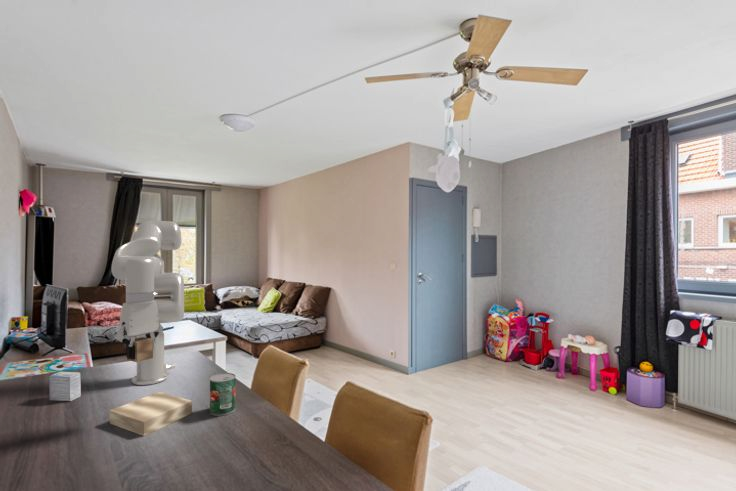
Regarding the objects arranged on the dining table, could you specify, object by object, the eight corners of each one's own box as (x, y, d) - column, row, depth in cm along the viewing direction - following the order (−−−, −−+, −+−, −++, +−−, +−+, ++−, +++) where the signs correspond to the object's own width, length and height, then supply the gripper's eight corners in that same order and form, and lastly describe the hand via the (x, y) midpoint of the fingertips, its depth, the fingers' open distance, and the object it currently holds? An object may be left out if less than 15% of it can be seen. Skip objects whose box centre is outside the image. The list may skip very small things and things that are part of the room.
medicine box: (81, 396, 135) (81, 372, 135) (70, 402, 130) (70, 376, 130) (60, 395, 136) (60, 371, 135) (48, 400, 131) (48, 375, 131)
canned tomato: (204, 412, 124) (204, 378, 124) (223, 403, 131) (223, 371, 131) (221, 418, 120) (221, 383, 120) (240, 408, 127) (240, 375, 127)
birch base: (158, 403, 130) (158, 391, 130) (192, 413, 123) (192, 400, 123) (109, 423, 115) (109, 410, 115) (144, 436, 109) (144, 422, 109)
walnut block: (142, 355, 122) (142, 336, 122) (152, 357, 120) (152, 338, 120) (126, 359, 118) (126, 340, 118) (137, 362, 115) (137, 342, 115)
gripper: (158, 293, 128) (157, 348, 128) (103, 300, 113) (103, 362, 113) (173, 295, 125) (172, 351, 125) (119, 302, 109) (119, 366, 110)
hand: (140, 355), depth 119 cm, fingers closed on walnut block, 4 cm apart
